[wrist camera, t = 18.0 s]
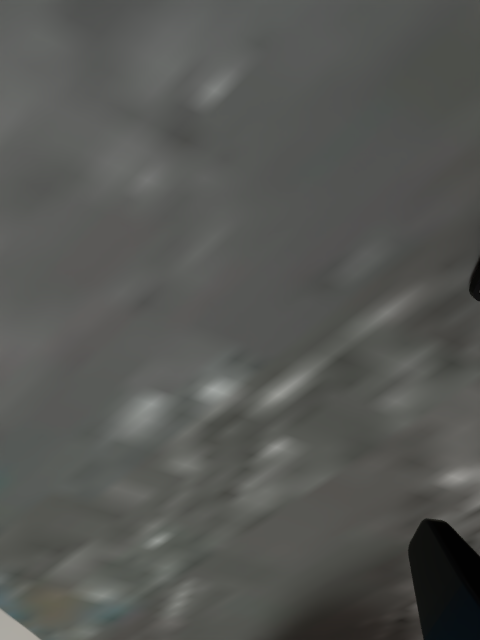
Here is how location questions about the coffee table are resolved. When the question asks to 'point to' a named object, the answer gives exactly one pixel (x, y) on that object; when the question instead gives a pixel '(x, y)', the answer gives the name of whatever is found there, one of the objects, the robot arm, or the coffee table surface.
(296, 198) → the coffee table surface
